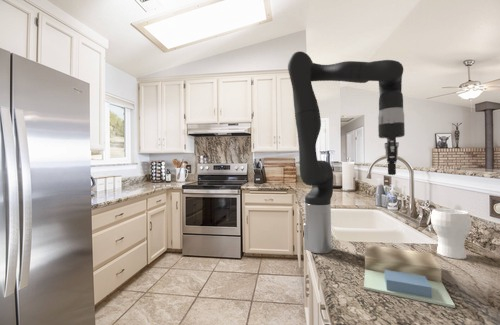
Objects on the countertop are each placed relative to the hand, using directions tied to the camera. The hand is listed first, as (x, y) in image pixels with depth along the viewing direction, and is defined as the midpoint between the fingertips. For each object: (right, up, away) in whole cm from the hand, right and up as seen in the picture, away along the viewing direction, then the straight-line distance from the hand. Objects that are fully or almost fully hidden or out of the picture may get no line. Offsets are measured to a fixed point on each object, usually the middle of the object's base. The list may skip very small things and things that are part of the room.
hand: (391, 174), depth 79 cm
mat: (-8, -28, -19) cm, 35 cm away
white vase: (+22, -28, +2) cm, 35 cm away
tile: (-9, -26, -20) cm, 34 cm away
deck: (-3, -28, -8) cm, 29 cm away
